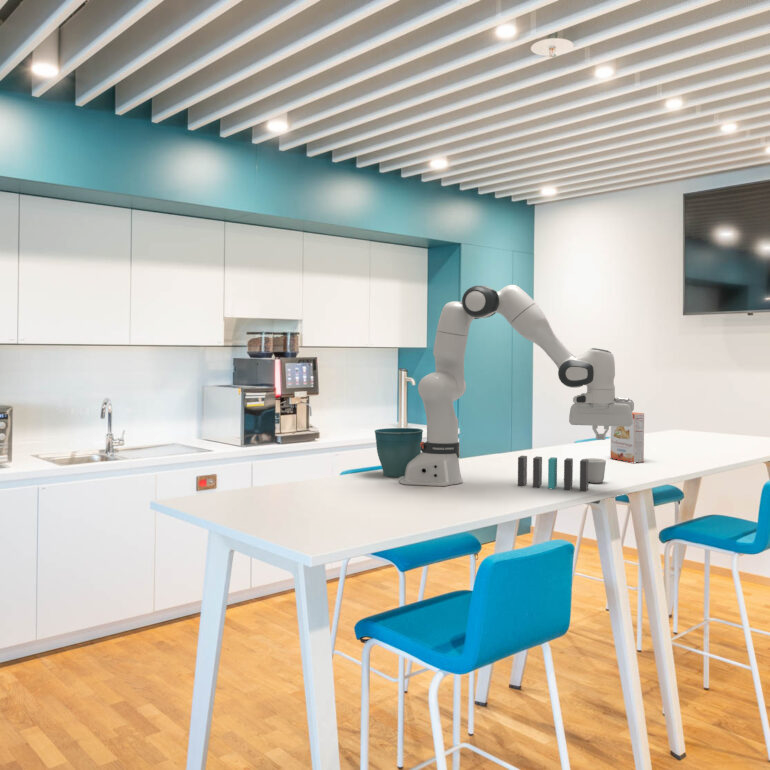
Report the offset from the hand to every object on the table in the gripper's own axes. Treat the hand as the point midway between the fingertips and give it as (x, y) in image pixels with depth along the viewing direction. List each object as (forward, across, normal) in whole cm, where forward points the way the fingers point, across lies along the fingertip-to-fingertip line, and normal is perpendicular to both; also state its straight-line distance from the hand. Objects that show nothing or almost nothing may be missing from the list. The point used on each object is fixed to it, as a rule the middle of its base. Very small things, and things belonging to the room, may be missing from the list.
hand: (600, 439), depth 245 cm
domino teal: (+17, +16, 0) cm, 23 cm away
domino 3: (+17, +11, 0) cm, 20 cm away
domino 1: (+17, +26, 0) cm, 31 cm away
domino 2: (+17, +21, 0) cm, 27 cm away
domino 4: (+17, +5, 0) cm, 18 cm away
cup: (+17, +5, -18) cm, 25 cm away
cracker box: (+17, -1, -75) cm, 77 cm away
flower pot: (+17, +73, -2) cm, 75 cm away
